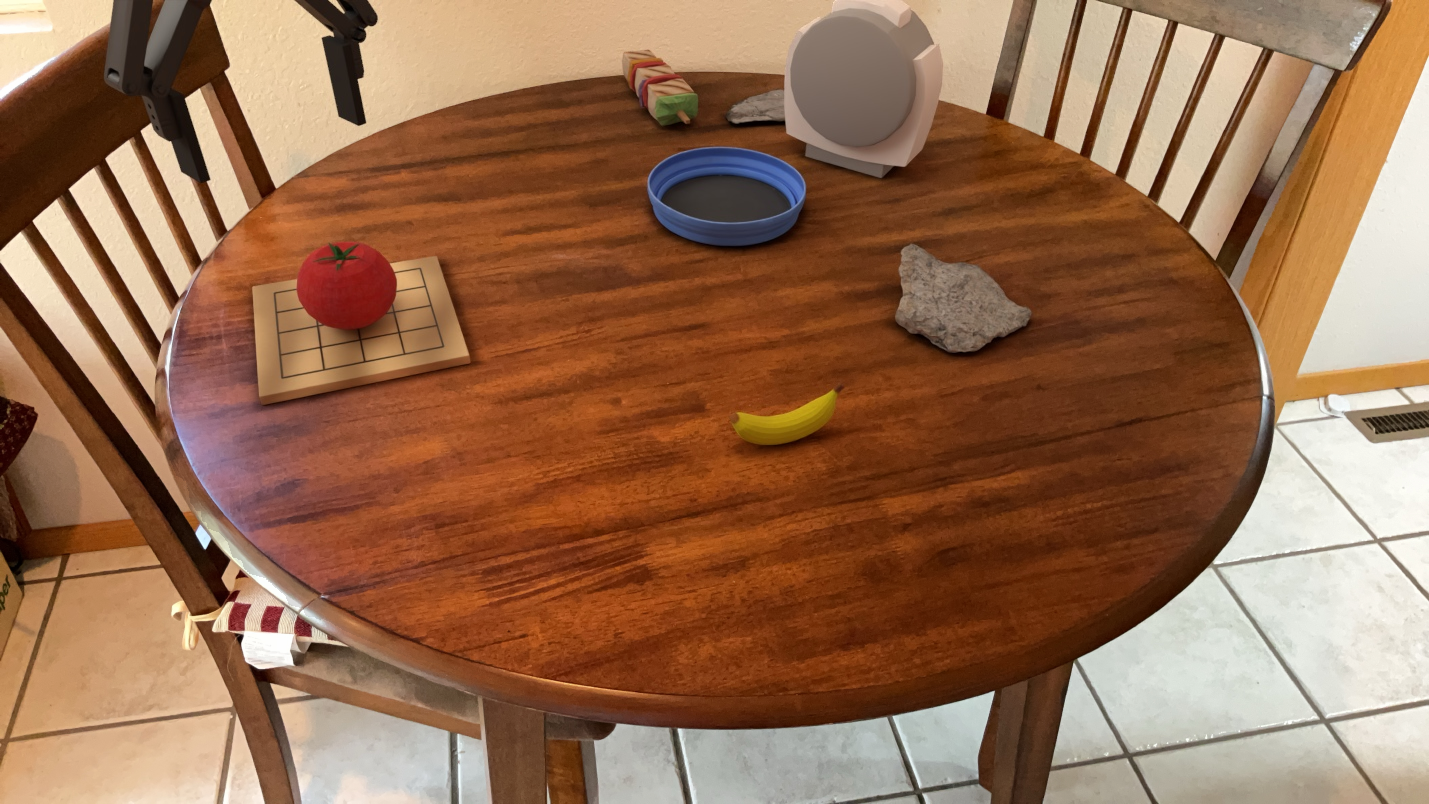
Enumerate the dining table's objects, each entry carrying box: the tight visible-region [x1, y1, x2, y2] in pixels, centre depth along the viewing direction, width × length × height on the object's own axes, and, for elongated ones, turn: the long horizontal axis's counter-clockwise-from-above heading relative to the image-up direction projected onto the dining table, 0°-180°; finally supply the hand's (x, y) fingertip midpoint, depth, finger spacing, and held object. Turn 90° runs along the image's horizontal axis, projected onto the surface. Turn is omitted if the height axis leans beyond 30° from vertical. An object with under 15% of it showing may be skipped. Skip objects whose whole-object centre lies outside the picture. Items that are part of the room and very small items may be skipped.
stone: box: [725, 88, 785, 125], centre depth 135 cm, size 21×10×1 cm, turn 103°
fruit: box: [729, 382, 845, 446], centre depth 82 cm, size 10×2×5 cm, turn 110°
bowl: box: [646, 146, 807, 247], centre depth 112 cm, size 18×18×4 cm
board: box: [251, 255, 471, 406], centre depth 93 cm, size 18×18×1 cm
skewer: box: [621, 49, 699, 127], centre depth 132 cm, size 21×6×5 cm, turn 22°
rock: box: [894, 243, 1032, 354], centre depth 98 cm, size 14×4×15 cm
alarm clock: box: [783, 0, 944, 179], centre depth 117 cm, size 18×8×20 cm, turn 59°
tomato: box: [296, 241, 397, 330], centre depth 90 cm, size 9×9×8 cm
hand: (278, 147), depth 76 cm, fingers open, 13 cm apart
